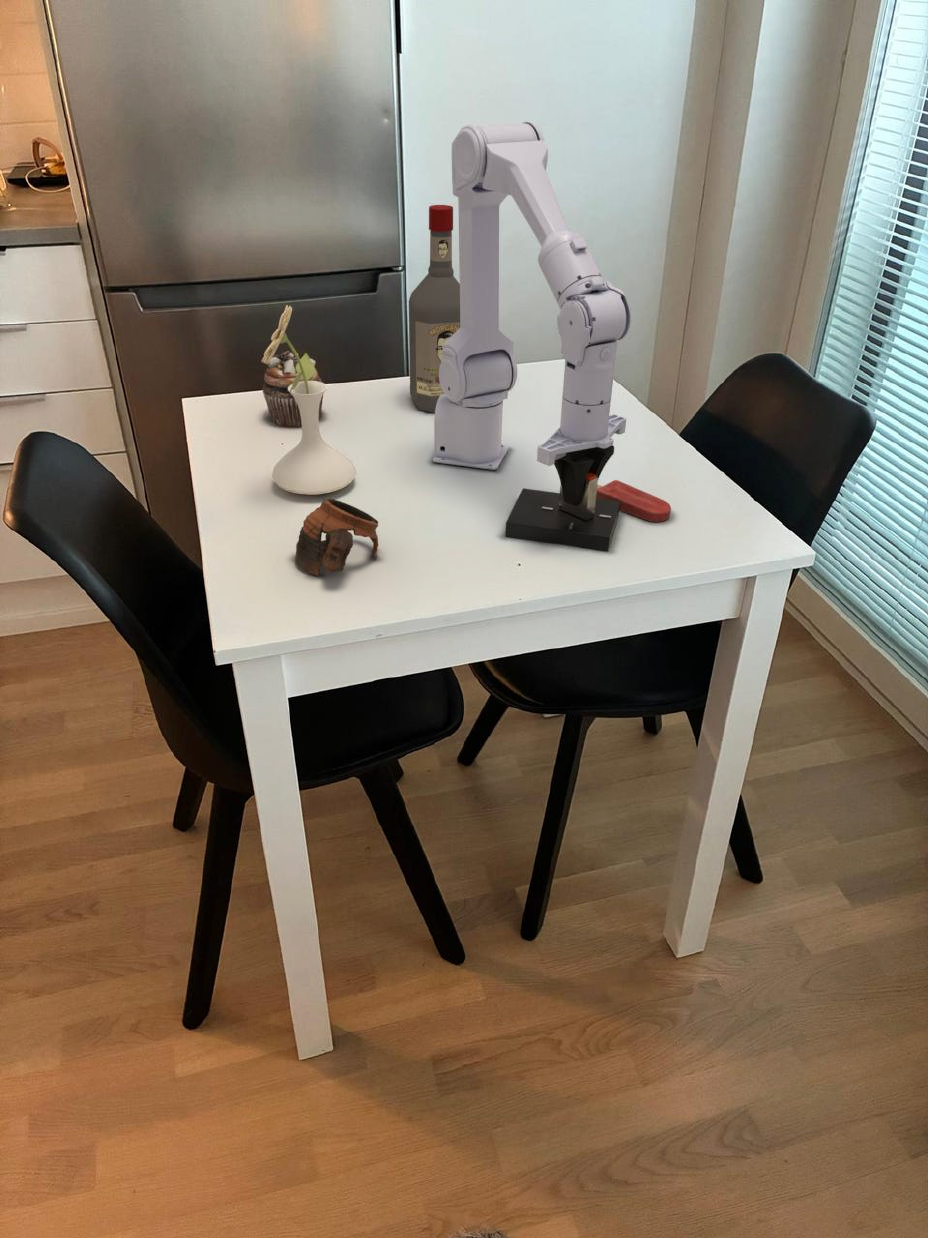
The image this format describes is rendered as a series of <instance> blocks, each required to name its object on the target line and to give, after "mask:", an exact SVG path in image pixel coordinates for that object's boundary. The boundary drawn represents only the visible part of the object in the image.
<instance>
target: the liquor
mask: <svg viewBox="0 0 928 1238" xmlns="http://www.w3.org/2000/svg"><path fill="white" fill-rule="evenodd" d="M428 230H429V231H430V232H429V233H430V234H429V242H430V243H429V244H430V245H429V247H430V248H429V266H428V268H427V270H428V271H427V274H426V276H425V277H424V278H423V279H422V280H421V281H420V282H419V284H418V285H416V287H415V289H413V291H411V293H410V296H409V298H408V331H409V332H408V335H409V336H408V343H409V344H408V345H409V347H408V348H409V351H408V353H409V393H410V396H411V398H412V400H413V401H414V403H415V405H416V407H417V409H418V410H420V411H423V412H427V413H431V414H432V413H433V414H435V409H436V404H437V401H438V399H439V397H440V395H442V394H444V393H443V391H442V388H441V385H440V381H439V367H440V364H441V360H442V345H443V344H444V343H445V342H446V341H447V340H448V339H449V338H450V337H451V336H452V335H453V334H454V333H455V332H456V331H457V330H458V329H459V328H460V281H458V280H457V278H456V277H455V276H454V269H453V231H454V206H453V205H448V204H432V205H429V206H428Z"/></svg>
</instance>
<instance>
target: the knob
mask: <svg viewBox="0 0 928 1238" xmlns="http://www.w3.org/2000/svg"><path fill="white" fill-rule="evenodd" d="M597 484H598V485H599V479H598V477H596V475H595V474H592V473H588V474H587V477H586V480H585V484H584V490H583V496H582V499H581V502H580V505H578V506H573V505H571V504H569V503H567V502H564V497H563V492H562V487H561V483H560V484H559V485H560V486H559V493H560V497H559V509H561V510H563V511H565V512H568V513H570V514H572V515H574V516H577V517H579V518H581V519H583V520H586V521H587V520H589V519H591V518H593V517H594V513H595V503H596V493H597Z"/></svg>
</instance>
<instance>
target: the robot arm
mask: <svg viewBox="0 0 928 1238" xmlns="http://www.w3.org/2000/svg"><path fill="white" fill-rule="evenodd" d="M548 160H549V147H548V145H547V144H546V142H545V138H544V136H543V133H542V131H541V129H540V127H539V125H537V124H536V123H535V122H533V121H525V122H521V123H506V124H505V123H504V124H489V125H473V124H467V125H465V126H463V127H461V129H460V130H459V131H458V133H457V135H456V137H455V138H454V140H452V142H451V185H452V195H453V196H454V197H457V199H458V200H457V201H458V260H459V262H458V263H459V265H458V266H459V267H458V268H459V270H458V271H459V284H460V328H459V329H458V330H457V331H456V332H455V333H454V334H453V335H452V336H451V337H450V338H449V339H448V340H447V341H446V342H445V343H444V344H443V345H442V360H441V364H440V367H439V381H440V385H441V388H442V391H443V393H444V394H442V395H440V397H439V399H438V401H437V404H436V409H435V413H434V420H433V421H434V423H433V425H434V426H433V429H434V431H433V433H434V434H433V436H434V437H433V439H434V440H433V441H434V443H433V446H434V447H433V448H434V450H433V451H434V453H433V454H434V455H433V458H432V462H433V463H438V464H445V465H451V466H452V465H453V466H462V467H468V468H476V469H485V470H490V471H491V470H492V471H496V470H497V469H498V468H499V466H500V465H501V463H502V461H503V459H504V458H505V455H506V454H507V453H508V450H509V446H508V445H506V444H502V435H503V412H504V411H503V408H504V400H507V399H508V396H509V392H510V391H512V390H513V389H514V387H515V385H516V383H517V379H518V365H517V361H516V357H515V351H514V350H515V349H514V341H513V340H512V338H510V337H509V336H508V335H506V333H504V332H503V331H501V330H500V325H499V321H500V308H499V307H500V302H499V301H500V206H501V204H502V202H504V201H505V200H506V198H508V196H511V198H512V199H513V200H514V202H515V204H516V206H517V207H518V209H519V210H520V212H521V214H522V215H523V218H524V220H525V221H526V223H527V224H528V226H529V227H530V229H531V231H532V233H533V234H534V236H535V238H536V239H537V241H538V243H539V245H540V246H541V247H540V251H539V253H538V257H537V263H538V265H539V268H540V270H541V272H542V273H543V274H542V275H543V277H544V278H545V281H546V282H547V284H548V287H549V289H550V291H551V293H552V295H553V297H554V299H555V301H556V303H557V305H558V307H559V310H560V311H559V314H557V316H556V322H557V323H556V324H557V330H558V334H559V337H560V340H561V349H560V354H562V355H561V357H562V359H563V360H564V372H563V373H564V374H563V383H562V384H563V385H562V396H561V408H560V409H561V411H560V421H559V422H560V423H559V428H557V429H556V430H555V432H554V433H553V434H551V436H550V437H549V438H548V439H547V440H546V441H544V442H543V443H542V444H539V445H538V446H537V450H536V462H537V463H540V464H542V465H545V466H547V467H551V466H553V465H554V467H555V470H556V472H557V475H558V478H559V482H560V484H561V487H562V492H563V497H564V502H567V503H569V504H571V505H573V506H578V505H580V502H581V499H582V496H583V490H584V484H585V480H586V477H587V474H588V473H592V474H595V475H596V477H598V480H599V479H600V476H601V474H602V472H603V470H604V469H605V466H606V465H607V463H608V462H609V460H610V459H611V458H612V457H613V455H614V454H615V446H614V438H613V436H614V435H615V434H616V435H620V436H621V435H623V434H625V433H626V427H627V418H626V417H623V416H620V415H619V414H615V413H613V414H611V415H610V411H611V405H612V404H611V403H612V396H613V395H612V392H613V386H614V385H613V384H614V377H615V376H614V375H615V366H616V359H617V358H616V357H617V356H616V355H617V348H618V347H617V346H618V341H621V340H623V339H624V338H625V337H626V336H627V334H628V333H629V330H630V327H631V323H632V313H631V307H630V304H629V302H628V298H627V295H626V294H625V292H624V291H622V289H620V288H618V287H615V286H614V285H613V284H612V283H611V281H609V280H605V279H604V277H603V275H602V273H601V271H600V268H599V267H598V264H597V263H596V261H595V259H594V256H593V255H592V252H591V250H590V249H589V248H590V247H589V246H588V244H587V242H586V240H585V238H584V237H583V235H582V234H580V233H577V232H574V231H569V228H568V225H567V222H566V220H565V218H564V215H563V211H562V210H561V207H560V204H559V202H558V200H557V196H556V194H555V192H554V189H553V186H552V183H551V181H550V179H549V176H548V173H547V167H548V166H547V165H548Z"/></svg>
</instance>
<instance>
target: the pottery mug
mask: <svg viewBox="0 0 928 1238" xmlns="http://www.w3.org/2000/svg"><path fill="white" fill-rule="evenodd" d="M302 524H303V525H302V527H301V529H300V531H299V534H298V540H297V542H296V544H295V556H294V560H295V563H297V565H298V567H300V568H301V569H303V570H304V571H306V572H308V573H309V574H312V575H314V576H316V577H318V576H319V575H320V568H321V567H323V568H324V569H325V571H326V572H329V573H338V572H341V571H343V570H344V567H345V566H346V562H347V559H348V557H349V555H350V553H351V550H352V548H353V546H354V536H357V537H358V536H359V537H363V538H369V539H370V540H371V542H372V543H373V544H372V550H371V556H372V557H376V556H377V552H378V549H379V537H378V534H377V528H378V527H379V521H378V519H376V518H375V517H373V516H372V515H371V514H370V513H367V512H365V511H364V510H361V509H360V508H357V507H355V506H353V505H351V504H348V503H346V502H343V501H340V500H337V499H333V498H330V497H329V498H323V499H322V501H321V503H320V506H319V507H316V508H315V509H314V510H313V511H311V512H310V513H309V514H308V515H306V518H305V519H304V520H303V523H302ZM350 531H353V533H352V532H350ZM323 534H325V540H322V537H323V536H322V535H323ZM353 535H354V536H353Z"/></svg>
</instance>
